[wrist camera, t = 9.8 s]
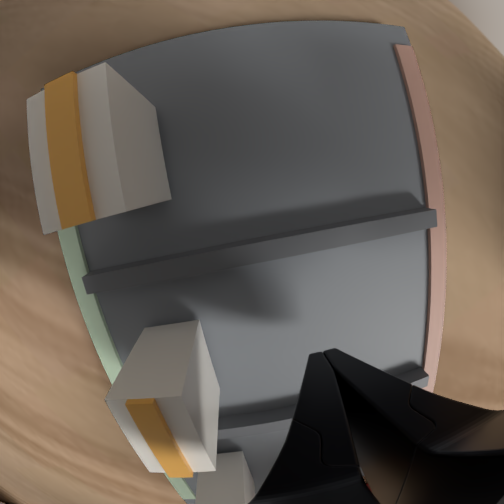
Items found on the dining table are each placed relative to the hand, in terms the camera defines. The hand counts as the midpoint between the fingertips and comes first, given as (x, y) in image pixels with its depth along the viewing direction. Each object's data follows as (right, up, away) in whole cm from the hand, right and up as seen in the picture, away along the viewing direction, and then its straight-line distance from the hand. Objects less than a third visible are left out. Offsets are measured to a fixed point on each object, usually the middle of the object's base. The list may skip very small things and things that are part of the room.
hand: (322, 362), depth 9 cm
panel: (-1, 0, +3) cm, 3 cm away
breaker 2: (-3, -7, +3) cm, 9 cm away
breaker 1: (-6, +6, 0) cm, 9 cm away
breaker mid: (-5, 0, +1) cm, 5 cm away
